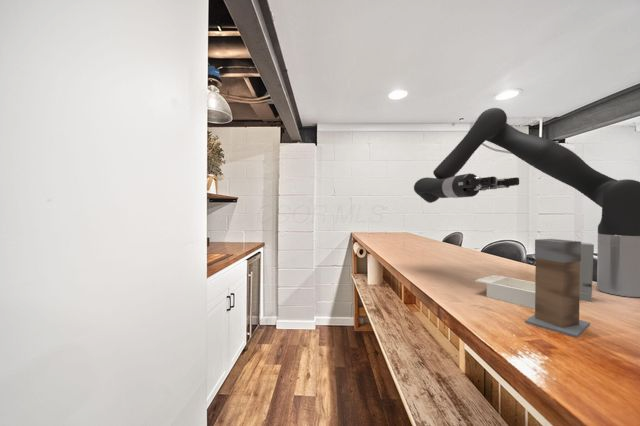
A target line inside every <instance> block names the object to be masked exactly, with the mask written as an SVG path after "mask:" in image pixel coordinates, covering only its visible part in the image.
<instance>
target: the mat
mask: <svg viewBox="0 0 640 426" xmlns="http://www.w3.org/2000/svg"><path fill="white" fill-rule="evenodd" d="M524 323H525V324H528V325H531V326H536V327H538V328H542V329H546V330H549V331H552V332H556V333H558V334H563V335H566V336H569V337H573V338H576V339H577V338H578V337H579V336H580V335H581V334H582V333H583V332H585V330H586V329H587V328H588V327H589V326H590V322H589V321H586V320H582V319H579V325H576V326H570V327H564V328H561V327H558V326H555V325H553V324H550V323H547V322H545V321H542V320H539V319H537V318H535V314H533V315H532V316H529V317H528V318H527V319H524Z"/></svg>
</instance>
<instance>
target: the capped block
mask: <svg viewBox="0 0 640 426" xmlns="http://www.w3.org/2000/svg"><path fill="white" fill-rule="evenodd" d="M534 240H535V241H534V259H535V275H534V276H535V277H534V279H535V281H534V282H535V309H534V315H535V318H537V319H539V320H542V321H545V322H547V323H550V324H553V325H555V326H558V327H561V328H564V327H570V326H576V325H579V320H580V300H579V298H580V261H581V242H582V241H578V240H567V239H556V238H543V239H542V238H541V239H540V238H539V239H536V238H535V239H534Z"/></svg>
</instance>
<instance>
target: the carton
mask: <svg viewBox="0 0 640 426" xmlns="http://www.w3.org/2000/svg"><path fill="white" fill-rule="evenodd" d="M474 282H475V283H481V284H485V285H486V298H489V299H493V300H497V301H501V302H506V303H509V304H513V305H518V306H521V307H526V308H529V309H533V310H535V281H530V280H524V279H520V278H513V277H508V276H501V275H497V274H492V275H488V276H485V277H482V278H478V279H475V280H474Z"/></svg>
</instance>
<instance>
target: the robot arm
mask: <svg viewBox="0 0 640 426" xmlns="http://www.w3.org/2000/svg"><path fill="white" fill-rule="evenodd" d="M486 141H487V142H488V143H491V144H493V145H495V146H497V147H499V148H501V149H502V148H503V150H504V149H505V151H508V152H509V153H511V154H513V155H514V156H516V157H517V158H519V159H521V161H523V162H524V163H527V164H528V165H529V166H532V167H533V168H535V169H536V170H538V171H540V172H542V173H544V174H545V175H547V176H550V177H551V178H553V179H555V180H557V181H559V182H560V183H563V184H565V185H567V186H569V187H571V188H573V189H575V190H576V191H578V192H580V193H581V194H582V195H583V196H585V197H586V198H588V199H589V200H591V201H592V202H594V203H595V204H596V205H597V206H599V207H601V218H600V222H599V224H598V226H597V255H596V256H597V261H596V262H597V264H596V265H597V269H596V270H597V271H596V272H597V273H596V274H597V275H596V289H597V291H600V292H603V293H606V294H611V295H614V296H615V295H616V296H622V297H629V298H640V181H638V180H635V179H619V180H618V179H615V178H613V177H610V176H608V175H606V174H604V173H601V172H599V171H598V170H596V169H594V168H593V167H591V166H590V165H589V164H587V163H586V161H584V160H583V159H582V158H581V157H580V156H578V155H577V154H576V153H575V152H574V151H572V150H570V149H569V148H567V147H565V146H564V145H562V144H559V143H558V142H556V141H554V140H551V139H549V138H545V137H542V136H537V135H534V134H529V133H526V132H522V131H520V130H519V129H517V128H515V127H513V126H512V125H510V124H509V123H508V116H507V113H506V112H505V110H503V109H502V108H500V107H499V108H498V107H490V108H488V109H486V110H484V111H483V112H482V113H480V114H479V116H478V118H476V121H475V122H473V125H472V126H471V127H470V129H469V130H468V132H467V133H466V134H465V135H464V137H463V138H462V139H461V141H459V143H458V144H457V145H456V146H455V148H453V149H452V150H451V152H450V153H449V154H448V155H447V156H446V157H445V158H444V159H443V160H442V161H441V162H440V163H439V164H438V165H437V166H436V167H435V169H434V170H433V171H432V172H433V174H432V175H434V177H422V178H420V179H418V180H417V181H415V183H414V185H413V190H414V192H415V194H416V195H418V196H419V197H420V198H421V199H423V200H424V201H425V202H427V203H428V204H429V203H430V204H432V203H434V202H436V201H438V200H439V199H447V198H450V199H451V198H453V199H455V198H456V199H459V198H471V197H472V198H473V197H475V196H476V195H478V194H479V192H481V191H483V192H486V191H487V190H488V191H489V190H497V189H504V188H505V189H508V188H510V187H513V186H519V185H520V177H517V176H516V177H509V178H506V177H504V178H498V177H496V176H487V177H486V176H485V177H481V176H477V175H476V174H474V173H464V174H458V173H459V172H460V170H462V169H463V167H464V166H465V165H466V163H467V162H468V161H469V160H470V159H471V157H472V155H474V153H475V152H476V151H477V150H478V148H480V146H481V145H483V143H484V142H486ZM457 174H458V175H457Z"/></svg>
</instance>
